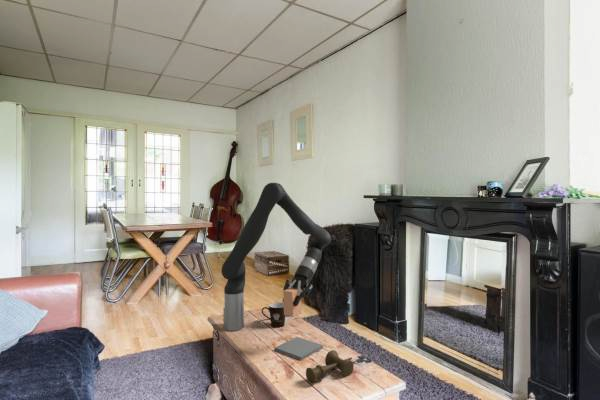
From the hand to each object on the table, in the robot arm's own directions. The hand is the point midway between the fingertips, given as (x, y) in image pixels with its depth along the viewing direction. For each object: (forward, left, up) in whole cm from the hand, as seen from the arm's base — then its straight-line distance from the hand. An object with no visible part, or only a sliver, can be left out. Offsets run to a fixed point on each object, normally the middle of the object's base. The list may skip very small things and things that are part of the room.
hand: (289, 304), depth 138 cm
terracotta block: (0, +2, -5) cm, 5 cm away
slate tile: (+3, +3, -19) cm, 19 cm away
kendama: (+24, -5, -19) cm, 32 cm away
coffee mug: (-24, +17, -19) cm, 35 cm away
